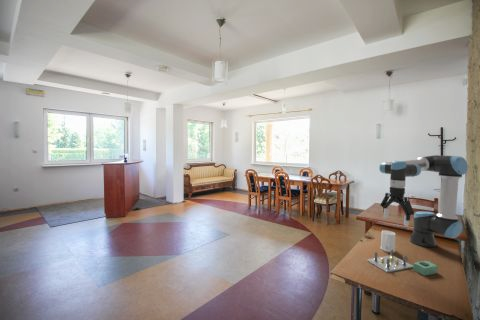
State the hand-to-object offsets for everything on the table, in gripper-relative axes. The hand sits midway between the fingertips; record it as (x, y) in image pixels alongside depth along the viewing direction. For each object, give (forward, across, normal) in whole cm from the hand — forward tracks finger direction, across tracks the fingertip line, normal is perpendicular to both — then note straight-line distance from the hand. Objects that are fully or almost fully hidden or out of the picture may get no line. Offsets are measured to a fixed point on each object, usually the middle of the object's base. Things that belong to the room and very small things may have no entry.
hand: (395, 221), depth 141 cm
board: (+26, +12, +9) cm, 30 cm away
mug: (+26, -15, +11) cm, 31 cm away
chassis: (+25, +1, -4) cm, 26 cm away
